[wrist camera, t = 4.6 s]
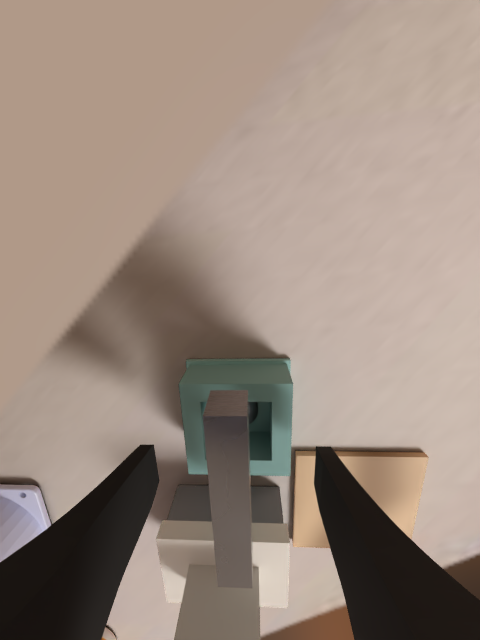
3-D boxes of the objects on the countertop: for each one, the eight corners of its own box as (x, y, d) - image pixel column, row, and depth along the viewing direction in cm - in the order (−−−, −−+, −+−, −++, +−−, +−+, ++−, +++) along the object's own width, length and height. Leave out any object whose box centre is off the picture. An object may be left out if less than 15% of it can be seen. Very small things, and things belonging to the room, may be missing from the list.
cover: (171, 581, 16) (147, 684, 12) (162, 520, 15) (130, 614, 11) (285, 586, 16) (296, 693, 12) (287, 523, 14) (299, 623, 11)
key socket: (195, 443, 16) (185, 477, 14) (187, 359, 15) (174, 380, 12) (287, 444, 16) (294, 479, 13) (289, 358, 14) (297, 380, 12)
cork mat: (292, 540, 18) (293, 546, 18) (295, 450, 16) (296, 455, 16) (405, 543, 18) (408, 550, 17) (424, 452, 16) (428, 457, 15)
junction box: (184, 537, 19) (174, 579, 16) (178, 484, 17) (166, 522, 15) (278, 539, 18) (282, 584, 16) (279, 486, 17) (283, 526, 14)
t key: (258, 459, 16) (262, 588, 10) (224, 458, 16) (207, 586, 10) (256, 342, 14) (259, 416, 8) (217, 343, 14) (190, 416, 8)
